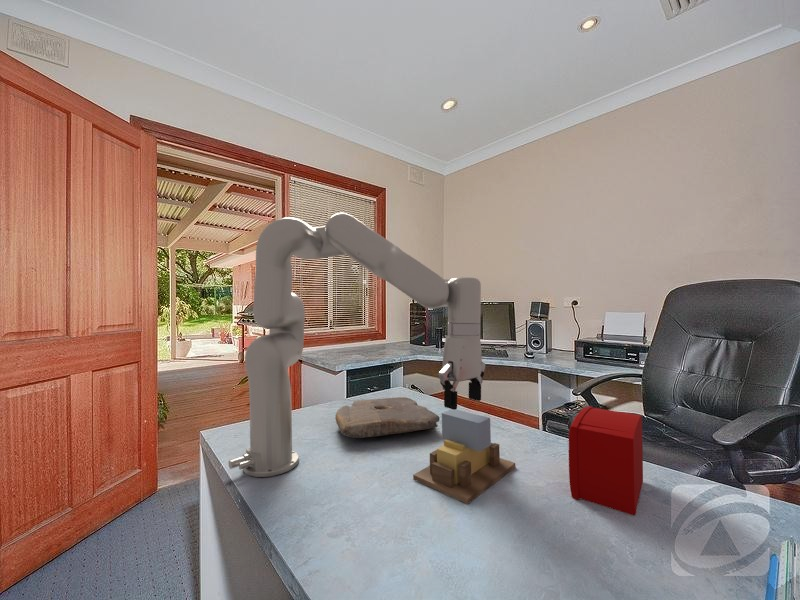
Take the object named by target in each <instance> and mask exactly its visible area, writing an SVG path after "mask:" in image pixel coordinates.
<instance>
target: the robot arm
mask: <svg viewBox="0 0 800 600" xmlns="http://www.w3.org/2000/svg"><path fill="white" fill-rule="evenodd" d="M326 221H327V222H326V223H325V225H324V226H317V227H313V226H311V225H310V224H308V223H307V222H305V221H303V220H302V219H299V218H296V217H288V216H287V217H282V218H278V219H276V220H274V221H272V222H270V223H269V224H268V225H266V227H265V228H264V229H263V230H262V232H261V233H260V234H259V237H258V240H257V242H256V248H255V276H254V286H253V287H254V289H253V306H252V308H253V309H252V314H253V319H254V321H255V323H256V324H257V325H258V326H259V327H261V328H264V329H267V330H269V332H268V333H269V334H263V335H260V336H258V337H257V338H256V339H253V340H252V341H251V342H250V344H249V346H248V347H247V349H246V351H245V353H244V354H245V355H244V365H245V370H246V375H247V380H248V393H249V394H248V398H249V399H248V401H249V441H250V442H249V443H250V445H249V446H250V448H246V450H245V453H244V454H242V456H239V457H235V458H233V459H229V460H228V468H229V469H230V470H233V469H235V468H237V467H238V469H239V470H243V472H244V473H245V474H246V475H248V476H250V477H255V478H268V477H275V476H278V475H281V474H284V473H287V472H288V471H291V470H292V469H294V468H295V467H296V466H298V464H299V461H300V455H299V454H298V453H297V451H294V450H293V424H292V423H293V417H292V416H293V415H292V411H293V410H292V408H293V407H292V386H291V385H292V384H291V380H290V375H289V367H291V366H293V365H295V364H296V363H297V362H298V361H299V360H300V359H301V357H302V355H303V350H304V343H305V342H304V341H305V321H306V320H305V319H306V311H305V305H304V302H303V300H302V299H301V298H300V297H299V295H298V294H296V293H294V292H293V291H292V290H293V289H292V287H293V286H292V283H293V268H292V264H291V263H292V262H291V261H292V257H293V256H294V257H297V258H300V259H302V260H319V259H325V258H327V259H328V258H331V257H339V256H345V255H346V256H348V257H349V258H351V259H352V260H353V261H355V262H356V263H358V265H360V266H362V267H363V268H365V269H366V270H367V271H369V272H370V273H372V274H373V275H374V276H376V277H378V278H380V279H381V280H383V281H386V282H387V283H389V284H390V285H392V286H393V287H395V288H396V289H398V290H399V291H401V293H403V294H404V295H406V296H408V297H409V298H410V299H412V300H413V301H414V302H416V303H418V304H419V305H421V306H422V307H424V308H425V309H430V310H434V309H439V308H446V307H447V336H446V337H445V341H444V346H443V353H442V368H441V370H440V371H439V372H438V373H437V375H438V378H439V382H440V385H441V387H442V390H443V391H444V393H443V395H444V396H443V397H444V399H443V405H444V406H443V407H444V408H446V409H449V410H451V409H454V410H455V409H456V410H458V391H456V390H457V387H458V386H459V383H461V382H465V381H469V382H468V399H470V400H473V401H478V402H480V401H482V383H483V381H484V380H483V378H484V376H485V373H484V372H485V369H486V363H485V362H484V361H483V359H482V358H483V357H482V356H483V355H482V354H483V353H482V345H481V344H482V341H481V319H482V318H481V317H482V315H481V311H482V310H481V309H482V307H481V304H482V303H481V300H482V297H481V294H482V283H481V281H480V279H478V278H476V277H467V276H466V277H464V276H462V277H454V278H450V279H448V278H447V279H445V278H443V277H442V276H440V274H438V273H436V272H435V271H433V270H432V269H430V268H429V267H428V266H426V265H425V264H423V263H422V262H420V261H419V260H417V259H415V258H414V257H413V256H411V255H410V254H408V253H407V252H405V251H403V250H402V249H401V248H400V247H398V245H395V244H394V243H392V242H391V241H390V240H388V239H387V238H385V237H384V236H382V235H381V234H379V233H378V232H377V231H375V230H373V229H372V228H371V227H369V226H368V225H367V224H365V223H364V222H362V221H360V220H359V219H357V218H356V217H354V215H351V214H348V213H345V212H337V213H335V214H333V215H332V216H330V217H329V218H328V219H327V220H326ZM451 382H452V383H451Z"/></svg>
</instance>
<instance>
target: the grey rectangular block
mask: <svg viewBox="0 0 800 600" xmlns="http://www.w3.org/2000/svg"><path fill="white" fill-rule="evenodd" d="M491 437H492V436H491V418H490V417H488V416H485V415H484V416H483V415H480V414H476V413H471V412H467V411H463V410H459V409H455V410H454V409H449V410H447V411H444V412H442V413H441V439H442V440H443V441H444V440H446V439H447V440H450V441H453V442H456V443H459V444H462V445H465V447H467V448H470V449H473V450H476V451H479V452H480V451H482V450H483V449H485V448H487V447H489V446H490V445H491V443H492V442H491V441H492V438H491Z"/></svg>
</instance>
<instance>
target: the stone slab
mask: <svg viewBox="0 0 800 600" xmlns="http://www.w3.org/2000/svg"><path fill="white" fill-rule="evenodd" d="M335 422H336V425H337V427H338V429H339V431H340V433H341V434H342V435H343V436H345V437H350V438H353V439H354V438H355V439H363V438H372V437H380V436H388V435H395V434H404V433H411V432H416V431H423V430H425V431H426V430H429V429H434V428H438V427H439V425H438V424H437V423H438V422H440V416H439V415H438V414H436V412H433V411H431V410H429V409H428V408H427V407H426V406H422V405H419V404H418V403H417V401H415V400H414V399H412V398H409V397H405V396H404V397H402V396H401V397H400V396H399V397H387V398H374V399H364V400H363V399H362V400H361V399H360V400H354V401H353V403H352V404H351V406H349V405H343V406H342V407H340V408H339V409H337V412H336V413H335Z"/></svg>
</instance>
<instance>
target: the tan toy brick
mask: <svg viewBox="0 0 800 600" xmlns="http://www.w3.org/2000/svg"><path fill="white" fill-rule="evenodd" d="M436 450H437V463H439V464H441V465H444V466H447V467H449V468H452V469H454V484H456V485H457V484H458V483H460V478H459V464H461V463H462V462H464V461H466V460H467V461H469V462H471V475H472V474H473V473H474V472H476V471H477V470H479V469H480V468H482V467H483V466H485V465H486V464H488V463H489V462H490V459H489V447H487V448H485V449H483V450H482V451H480V452H479V451H476V450H473V449H470V448H467V447H465V445H462V444H459V443H456V442H453V441H450V440H447V439H446V440H443V445H441V446H440V447H437V448H436Z"/></svg>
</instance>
